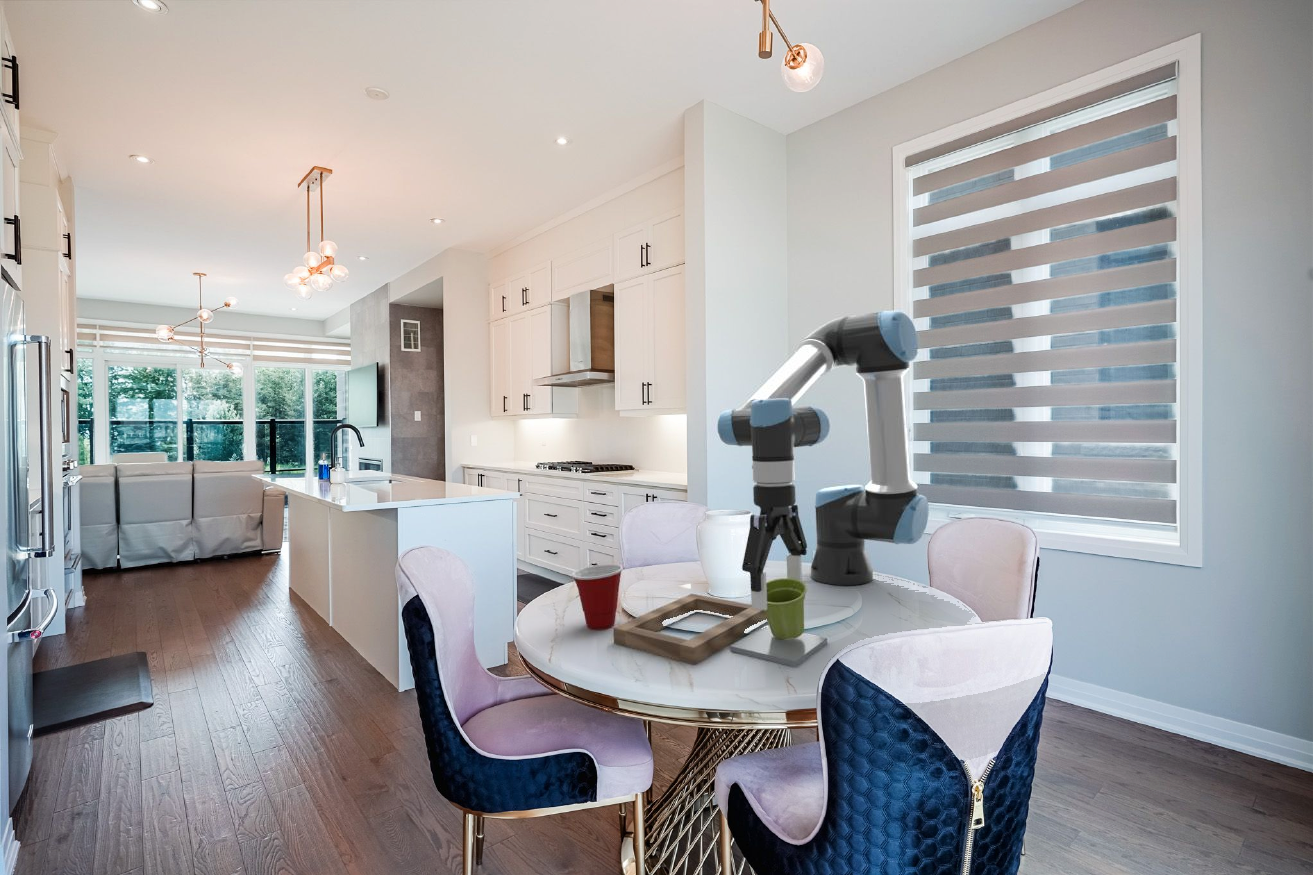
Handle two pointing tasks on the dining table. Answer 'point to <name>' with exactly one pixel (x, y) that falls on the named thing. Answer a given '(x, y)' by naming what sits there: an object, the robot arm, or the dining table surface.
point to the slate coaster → (778, 647)
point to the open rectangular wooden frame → (696, 649)
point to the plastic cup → (599, 593)
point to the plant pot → (785, 607)
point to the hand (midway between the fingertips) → (778, 598)
